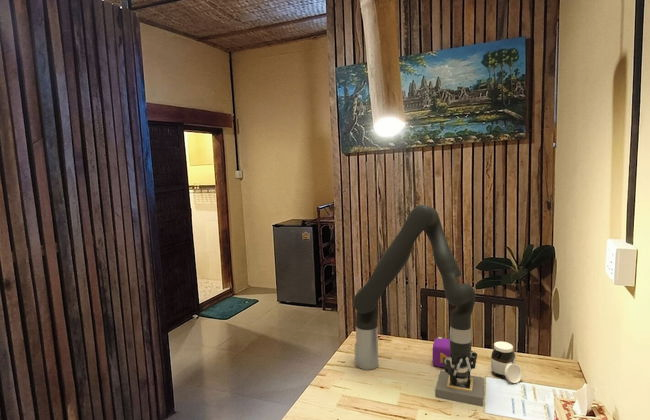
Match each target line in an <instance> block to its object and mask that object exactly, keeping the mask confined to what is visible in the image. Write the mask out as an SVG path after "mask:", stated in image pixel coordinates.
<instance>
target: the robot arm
mask: <svg viewBox="0 0 650 420" xmlns="http://www.w3.org/2000/svg"><path fill="white" fill-rule="evenodd" d="M423 232H424V233H425V234H426V236H427V238H428V240H429V242H430V245H431V249H432V255H433V259H434V262H435V265H436V268H437V270H438V272H439V274H440V276H441V278H442V279H441V280H442V286H443V290H444V295H445V299H446V300H447V301H448V303H449V304H450V305H452V306H453V307H455V308H454V309H453V310H451V311H450V315H449V317H450V319H449V320H450V322H449V323H450V326H449V327H450V329H449V339H450V351H451V354H450V357H448V358H445V357H444V358H443V362H444V367H443V368H444V371H445V372H446V373H448V374H449V375H450V382H451V383H452V384H451V385H452V386H453V385H456V373H457V370H459V367H460V366H462V365H466V366H468V381H469V380H470V375H471V371H472V370H474V369H476V364H477V358H478V353H477V352H475V351H473V350H472V321H471V320H472V314H473V311H474V307H475V303H476V292H475V289H474V287H473V286H472V285H471V284H469V283H466V282H465V283H462V284H458V280H457V279H458V278H460V277H461V275H462V272H461V269H460V267H459V265H458V262H457V261H456V258H455V256H454V254H453V252H452V250H451V248H450V246H449V243H448V241H447V238H446V236H445V235H446V234H445V232H444V229H443V226H442V223H441V219H440V216H439V213H438V210H437V209H435V208H434V207H433V206H432V207H431V206H429V205H425V204H418V205H416V206H415V207H414V208H413V209H412V210H411V211H410V213H409V214H408V216H407V218H406V220H405V221H404V224H403V225H402V227H401V229H400V231H399V232H398V233H397V235H396V236H395V237H394V239H393V240H392V242H391V243H390V245H389V246H388V247H387V249H386V250H385V251H384V253H383V255H381V258H380V259H379V260H378V262H377V264H376V266H375V268H374V270H373V272H372V274H371V276H370V278H369V279H368V281H366V283H365V285H364V286H361V287H360V288H359V289H358V290H357V292H356V293H355V295H354V297H353V307H354V309H355V310H356V315H355V324H354V325H355V343H354V366H355V367H357V368H359V369H362V370H365V371H369V370H374V369H377V368H378V367H379V328H378V327H379V326H378V322H379V300H380V298H381V296H382V294H383V293H384V292H385V290H386V289H387V288H388V286H390V284H391V283H392V282H393V281H394V279H396V277H397V276H398V275H399V273H400V272H401V271H402V270H403V268H404V267H405V265H406V264H407V263H408V261H409V259H410V256H411V253H412V251H413V250H412V249H413V246H414V244H415V242H416V241H417V239H418V238H419V236H420V235H421V234H422V233H423ZM454 364H455V365H456V366H455V365H454ZM453 368H454V371H453Z"/></svg>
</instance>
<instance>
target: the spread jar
mask: <svg viewBox="0 0 650 420" xmlns="http://www.w3.org/2000/svg"><path fill="white" fill-rule="evenodd" d="M490 356H491V357H490V370H491V372H492V373H493V374H494V375H495V376H497V377H501V378H504V379H506V380H507V381H508V382H509V383H512V384H517V383H519V382H520V381H521V380H522V375H523V374H522V372H523V371H522V369H521V367H520V366H519V365H518V364H516V352H515V351H514V346H513V344H511V343H509V342H507V341H496V342H494V343H493V350H492V352H491V355H490Z"/></svg>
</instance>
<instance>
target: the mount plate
mask: <svg viewBox="0 0 650 420" xmlns="http://www.w3.org/2000/svg"><path fill="white" fill-rule="evenodd" d="M484 389H485V377H482V376H477V375H471V374H470V380H469V381H468V388H462V387H456V386H453V384H452V383H451V382H450V375H449V374H448V373H446V372H445V370H440V371H439V374H438V377H437V382H436V386H435V389H434V391H435V394H434V395H435V396H434V397H435V398H439V399H444V400H449V401H453V402H454V401H455V402H459V403H462V404H463V403H464V404H469V405H474V406H479V407H484V393H485V391H484Z"/></svg>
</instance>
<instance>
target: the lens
mask: <svg viewBox="0 0 650 420" xmlns="http://www.w3.org/2000/svg"><path fill="white" fill-rule="evenodd" d="M454 365H455V364H454ZM455 366H456V365H455ZM453 371H454V368H453ZM452 386H456V387H462V388H467V389H469V387H468V366H466V365H462V366H460V367H459V370H457V373H456V385H453V384H452Z"/></svg>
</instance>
